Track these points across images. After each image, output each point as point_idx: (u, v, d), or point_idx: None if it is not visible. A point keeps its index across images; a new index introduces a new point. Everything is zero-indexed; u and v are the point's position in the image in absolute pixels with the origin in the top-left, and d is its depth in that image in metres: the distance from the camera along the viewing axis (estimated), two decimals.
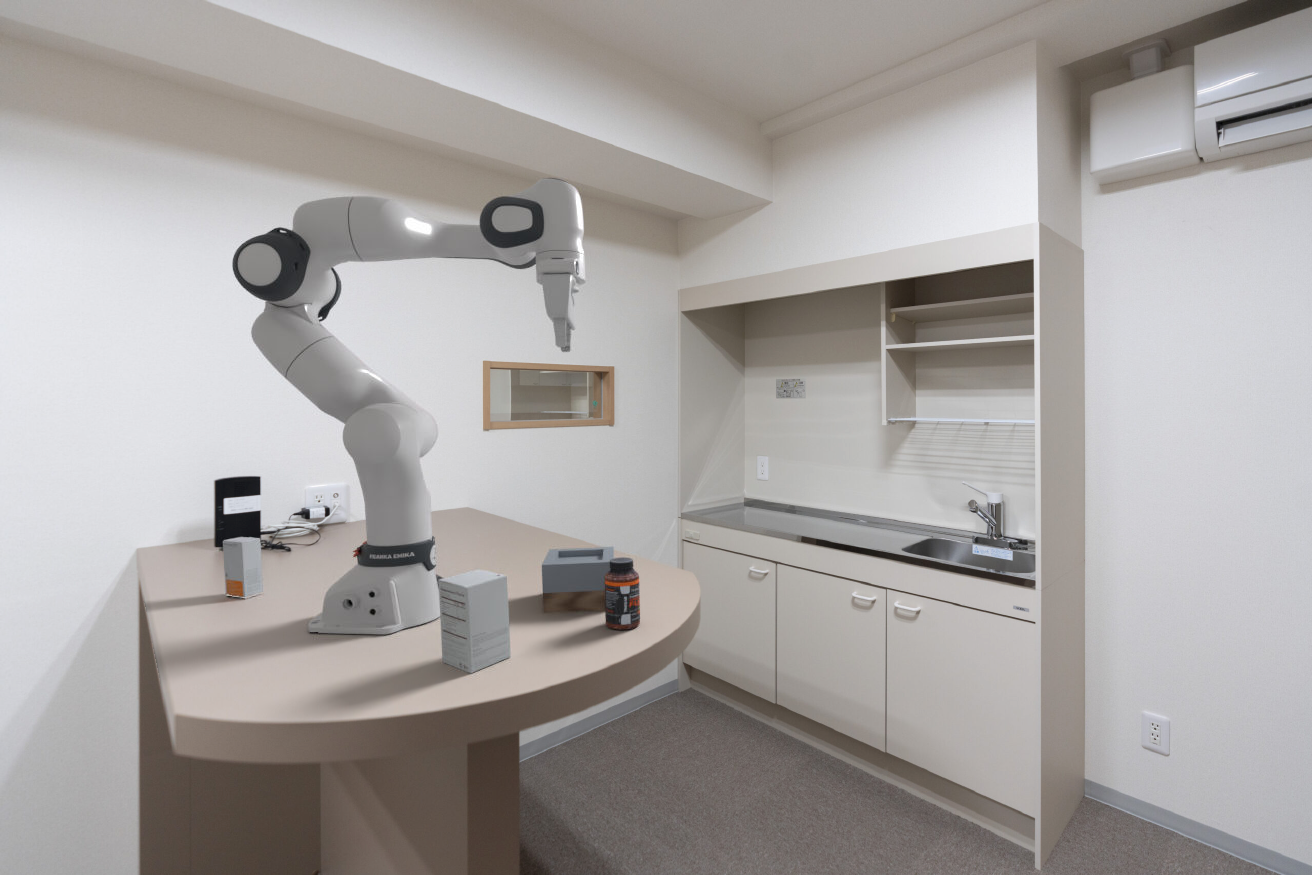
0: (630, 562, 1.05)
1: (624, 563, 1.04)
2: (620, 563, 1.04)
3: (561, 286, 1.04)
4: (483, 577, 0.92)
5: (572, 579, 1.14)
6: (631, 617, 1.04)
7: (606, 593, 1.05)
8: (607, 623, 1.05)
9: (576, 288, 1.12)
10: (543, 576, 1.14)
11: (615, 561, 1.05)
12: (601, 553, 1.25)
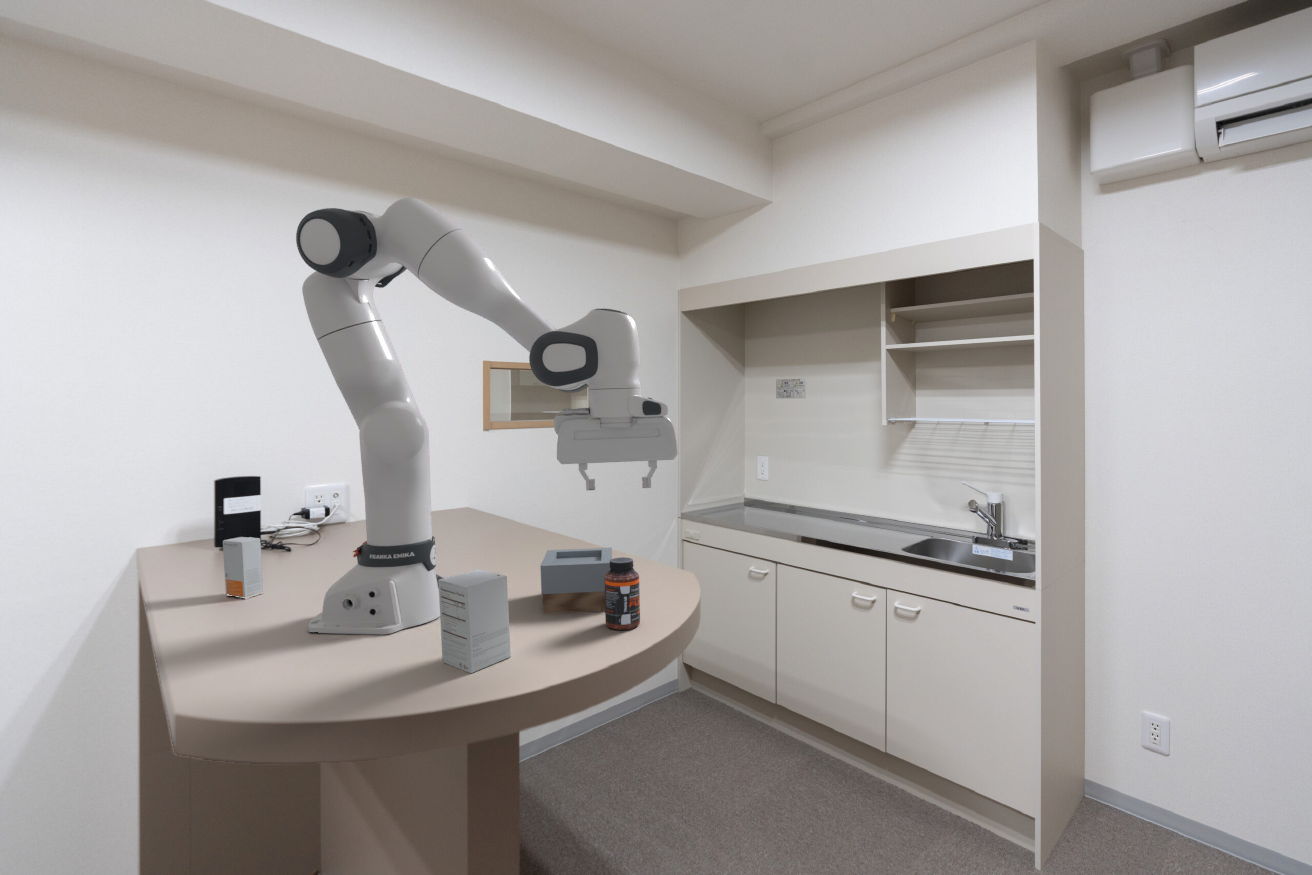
0: (630, 562, 1.05)
1: (624, 563, 1.04)
2: (620, 563, 1.04)
3: None
4: (483, 577, 0.92)
5: (571, 580, 1.14)
6: (631, 617, 1.04)
7: (606, 593, 1.05)
8: (607, 623, 1.05)
9: None
10: (542, 577, 1.14)
11: (615, 561, 1.05)
12: (599, 554, 1.25)
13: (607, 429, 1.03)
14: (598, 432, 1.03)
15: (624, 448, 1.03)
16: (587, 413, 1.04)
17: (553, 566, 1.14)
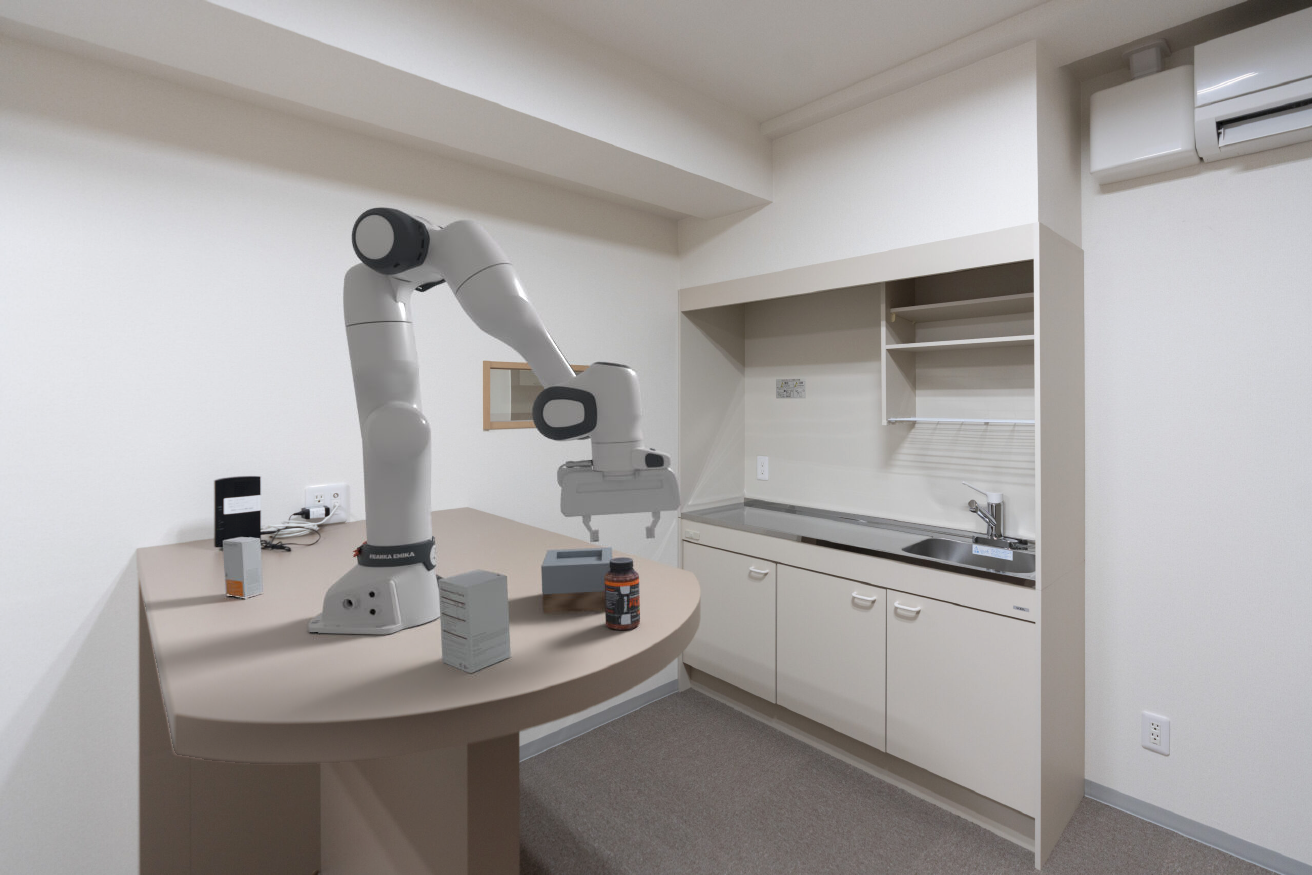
0: (630, 562, 1.05)
1: (624, 563, 1.04)
2: (620, 563, 1.04)
3: None
4: (483, 577, 0.92)
5: (571, 580, 1.14)
6: (631, 617, 1.04)
7: (606, 593, 1.05)
8: (607, 623, 1.05)
9: None
10: (543, 577, 1.14)
11: (615, 561, 1.05)
12: (599, 554, 1.26)
13: (610, 481, 1.04)
14: (601, 484, 1.04)
15: (628, 500, 1.04)
16: (590, 465, 1.04)
17: (554, 566, 1.14)
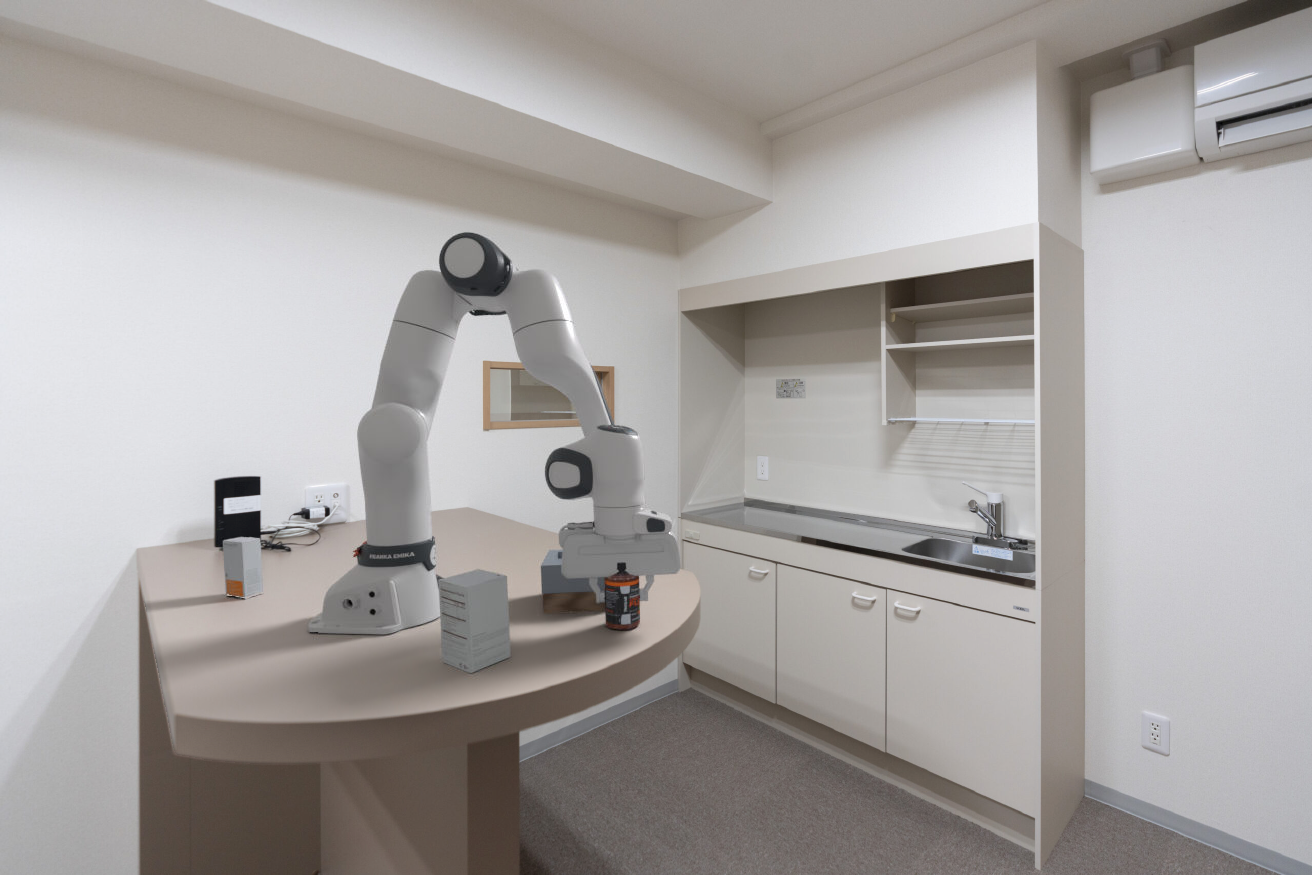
0: None
1: (624, 563, 1.04)
2: (620, 563, 1.04)
3: None
4: (483, 577, 0.92)
5: (571, 580, 1.14)
6: (631, 617, 1.04)
7: (606, 593, 1.05)
8: (607, 623, 1.05)
9: None
10: (542, 577, 1.14)
11: None
12: None
13: (611, 544, 1.04)
14: (602, 547, 1.04)
15: (628, 563, 1.04)
16: (591, 527, 1.05)
17: (553, 566, 1.14)
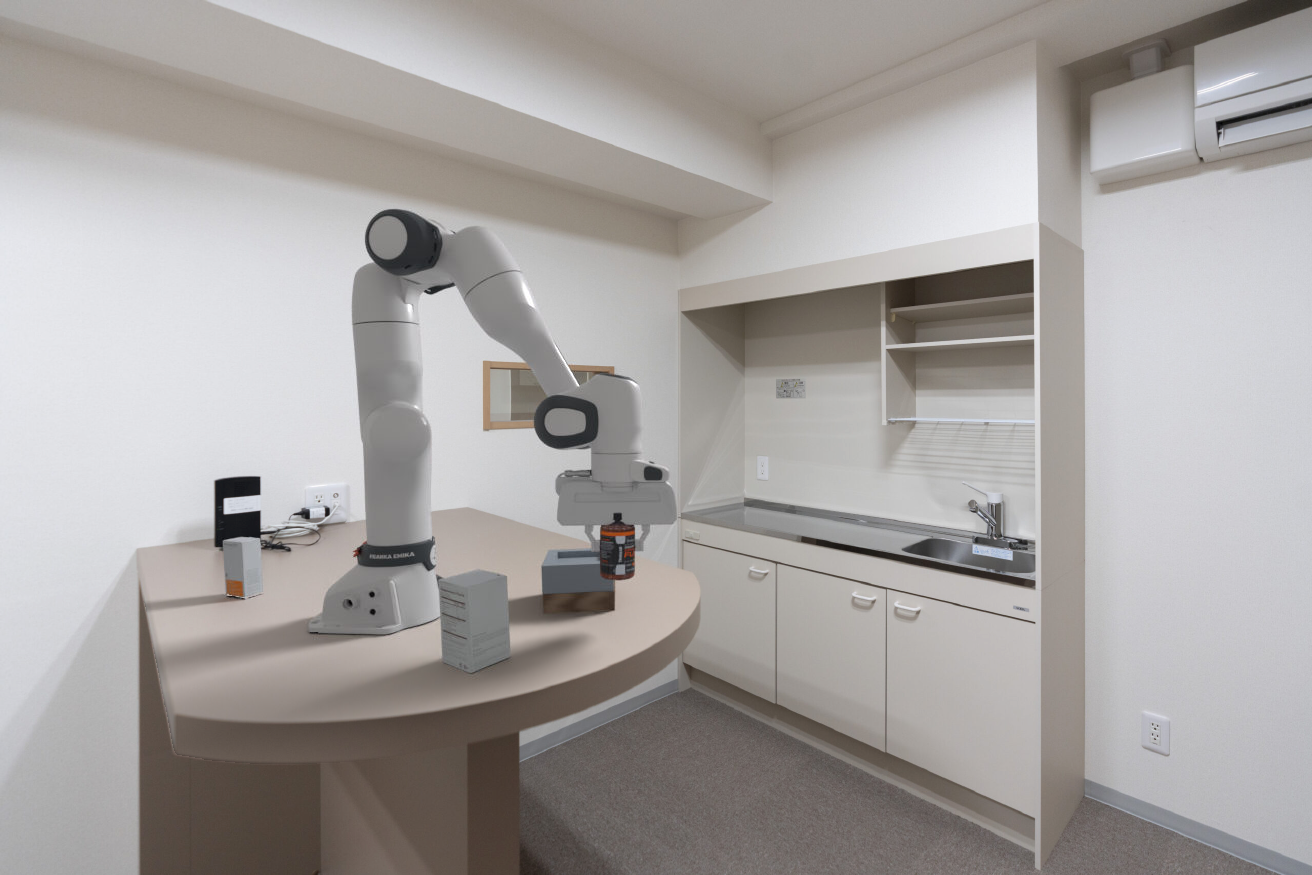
0: None
1: (620, 513, 1.04)
2: (616, 513, 1.04)
3: None
4: (483, 577, 0.92)
5: (572, 580, 1.14)
6: (626, 568, 1.03)
7: (601, 543, 1.04)
8: (601, 573, 1.05)
9: None
10: (543, 577, 1.14)
11: None
12: None
13: (608, 492, 1.04)
14: (599, 494, 1.04)
15: (625, 511, 1.04)
16: (589, 475, 1.05)
17: (554, 566, 1.14)
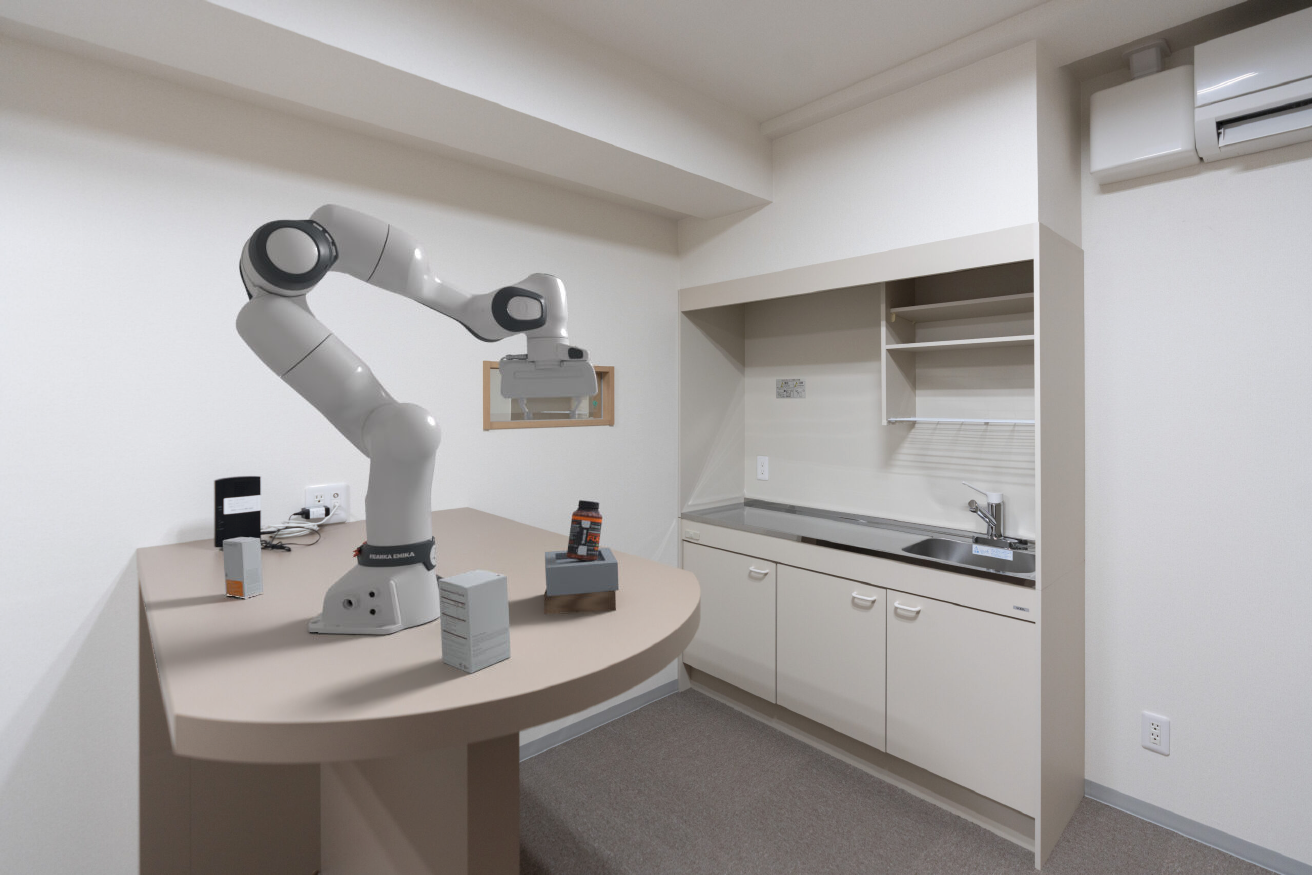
0: (595, 503, 1.20)
1: (589, 502, 1.20)
2: (586, 501, 1.20)
3: None
4: (483, 577, 0.92)
5: (577, 581, 1.14)
6: (587, 550, 1.18)
7: (570, 527, 1.20)
8: (567, 553, 1.19)
9: None
10: (547, 579, 1.13)
11: None
12: (598, 554, 1.25)
13: (541, 370, 1.30)
14: (534, 372, 1.30)
15: (554, 385, 1.30)
16: (525, 358, 1.31)
17: (559, 567, 1.13)
